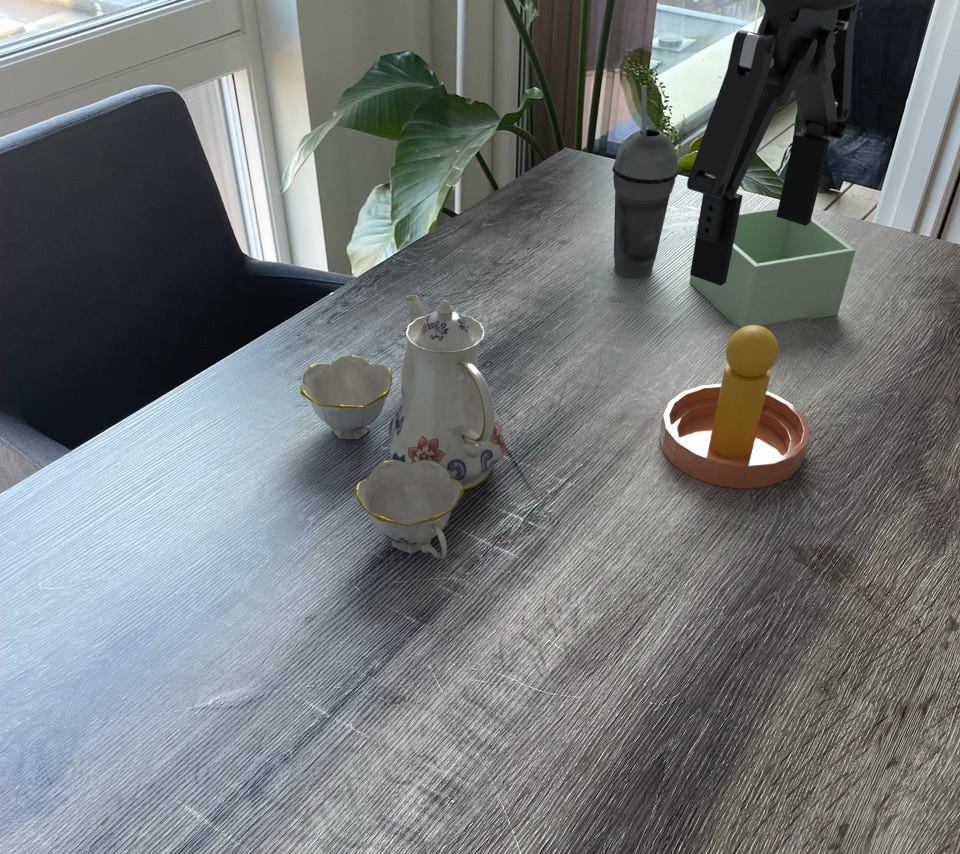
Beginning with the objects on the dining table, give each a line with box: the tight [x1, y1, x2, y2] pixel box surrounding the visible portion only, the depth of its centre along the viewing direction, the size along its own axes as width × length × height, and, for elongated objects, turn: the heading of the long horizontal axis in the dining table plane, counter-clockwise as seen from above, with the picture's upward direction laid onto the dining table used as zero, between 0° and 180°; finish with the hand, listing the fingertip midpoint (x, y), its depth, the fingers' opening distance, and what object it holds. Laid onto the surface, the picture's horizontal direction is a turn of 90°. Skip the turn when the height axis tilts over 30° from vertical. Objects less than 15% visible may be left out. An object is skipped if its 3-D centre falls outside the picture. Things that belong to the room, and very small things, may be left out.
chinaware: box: [299, 294, 507, 560], centre depth 89 cm, size 28×17×17 cm, turn 27°
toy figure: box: [710, 325, 779, 458], centre depth 92 cm, size 4×4×12 cm
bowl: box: [659, 383, 811, 490], centre depth 96 cm, size 13×13×3 cm
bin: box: [689, 206, 856, 329], centre depth 115 cm, size 12×12×8 cm
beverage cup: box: [612, 84, 679, 279], centre depth 115 cm, size 7×7×20 cm
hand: (752, 248), depth 82 cm, fingers open, 13 cm apart
